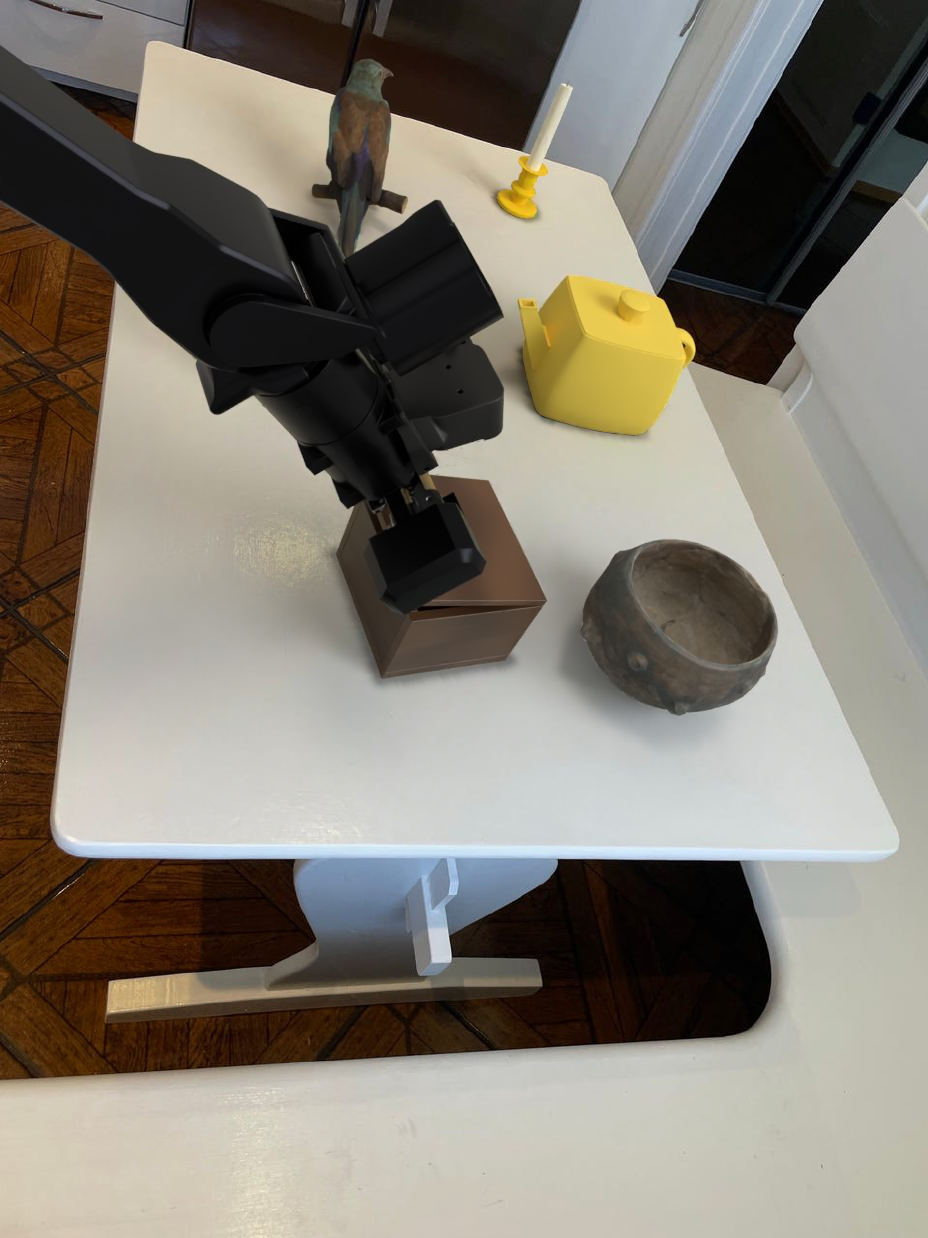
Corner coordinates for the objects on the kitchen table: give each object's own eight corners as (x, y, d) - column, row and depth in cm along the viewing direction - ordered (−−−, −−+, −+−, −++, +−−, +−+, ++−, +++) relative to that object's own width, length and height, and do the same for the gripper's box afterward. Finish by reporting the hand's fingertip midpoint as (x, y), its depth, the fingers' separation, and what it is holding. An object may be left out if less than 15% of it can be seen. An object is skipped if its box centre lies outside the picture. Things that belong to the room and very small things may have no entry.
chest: (381, 679, 67) (411, 622, 62) (335, 553, 73) (359, 490, 67) (505, 660, 72) (543, 606, 67) (453, 544, 78) (485, 485, 72)
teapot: (494, 414, 90) (544, 314, 81) (477, 332, 97) (521, 232, 88) (670, 448, 97) (734, 360, 88) (643, 369, 104) (699, 280, 95)
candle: (491, 189, 116) (541, 62, 104) (527, 196, 118) (581, 72, 106) (504, 215, 113) (557, 87, 101) (540, 221, 115) (597, 97, 104)
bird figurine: (399, 278, 96) (447, 64, 89) (304, 252, 93) (346, 29, 86) (383, 271, 108) (424, 82, 101) (298, 248, 105) (335, 52, 98)
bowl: (748, 724, 77) (824, 659, 70) (602, 761, 70) (670, 693, 62) (669, 590, 84) (731, 518, 76) (527, 611, 76) (580, 533, 69)
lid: (413, 606, 60) (445, 564, 57) (359, 473, 65) (386, 428, 63) (543, 605, 67) (577, 568, 64) (485, 485, 72) (514, 445, 69)
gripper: (527, 452, 45) (596, 578, 58) (402, 213, 53) (488, 372, 67) (330, 561, 46) (441, 659, 60) (240, 313, 55) (355, 448, 68)
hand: (434, 525), depth 64 cm, fingers closed on lid, 5 cm apart
